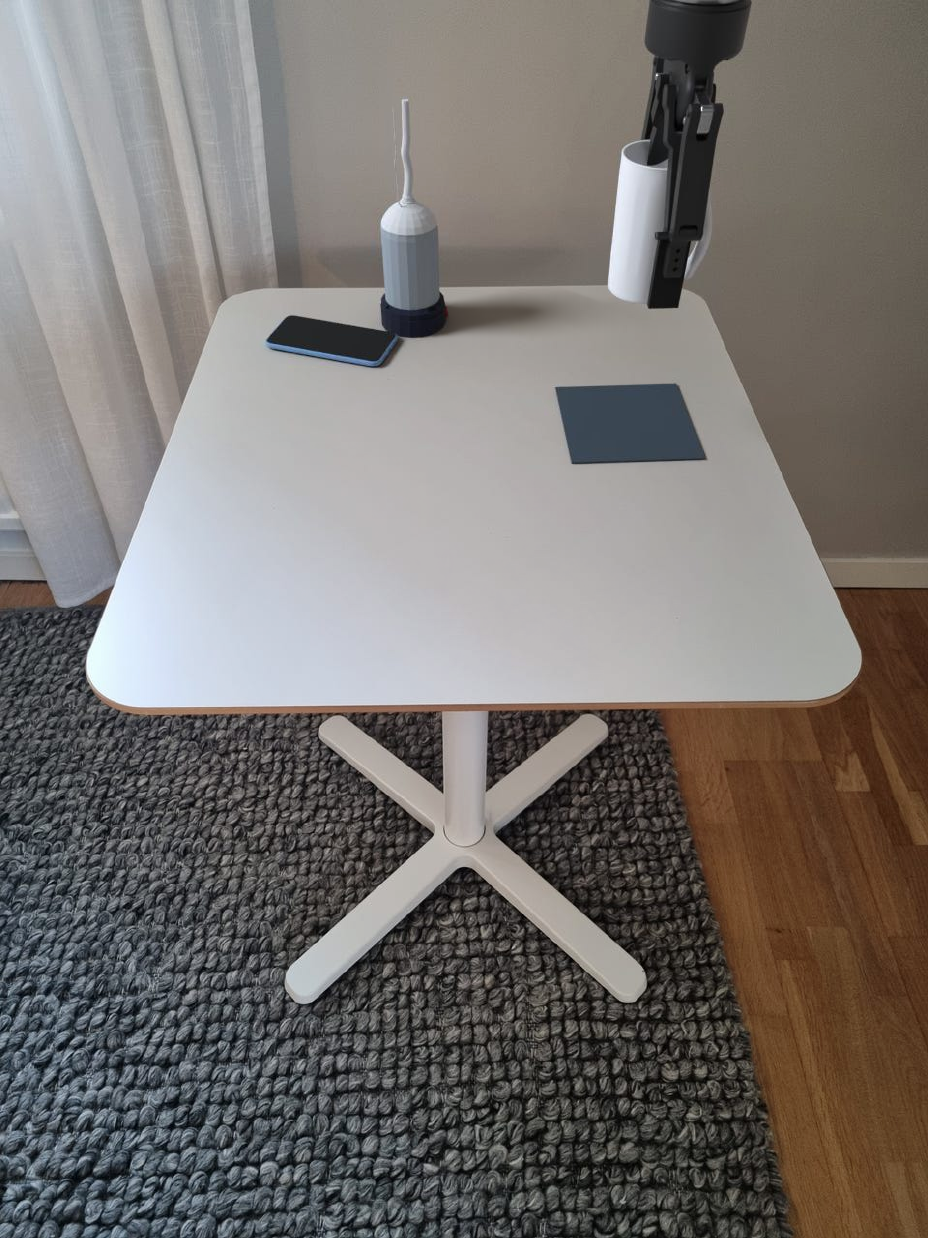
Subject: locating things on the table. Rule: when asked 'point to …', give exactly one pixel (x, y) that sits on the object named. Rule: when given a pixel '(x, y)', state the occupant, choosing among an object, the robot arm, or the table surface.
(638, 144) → the mug
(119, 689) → the table surface
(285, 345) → the smartphone
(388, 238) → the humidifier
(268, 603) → the table surface
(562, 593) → the table surface
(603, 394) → the mat
